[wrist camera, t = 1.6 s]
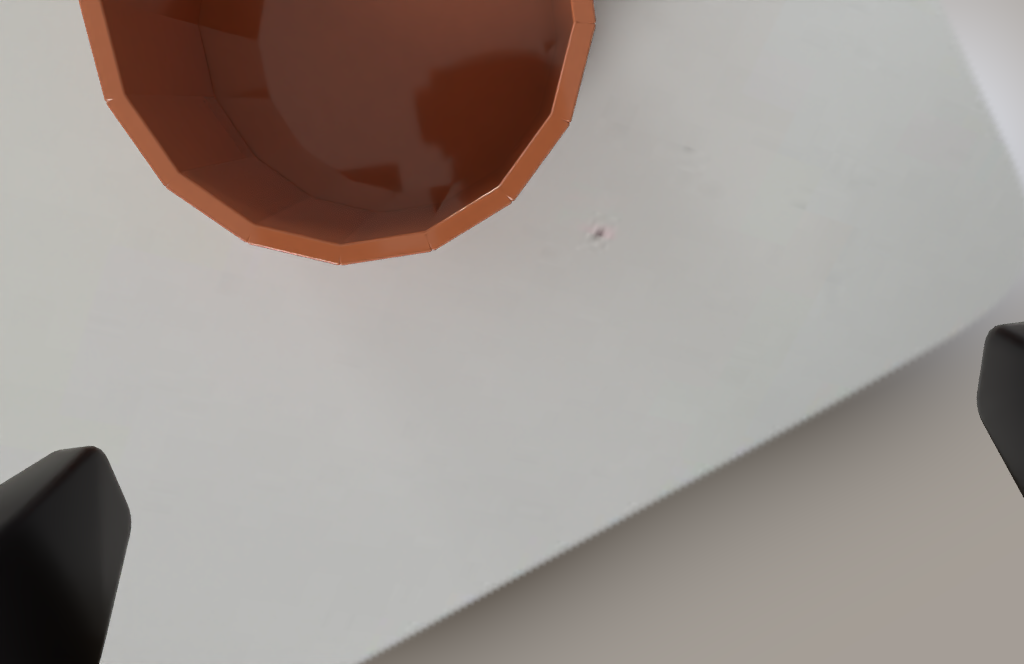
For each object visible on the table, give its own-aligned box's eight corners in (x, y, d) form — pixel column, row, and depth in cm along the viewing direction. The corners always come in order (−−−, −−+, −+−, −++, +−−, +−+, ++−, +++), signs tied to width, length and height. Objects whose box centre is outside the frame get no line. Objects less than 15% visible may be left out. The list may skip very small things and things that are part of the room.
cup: (518, 259, 22) (523, 309, 16) (166, 175, 21) (54, 198, 16) (612, -115, 20) (652, -197, 14) (224, -222, 19) (116, -348, 14)
